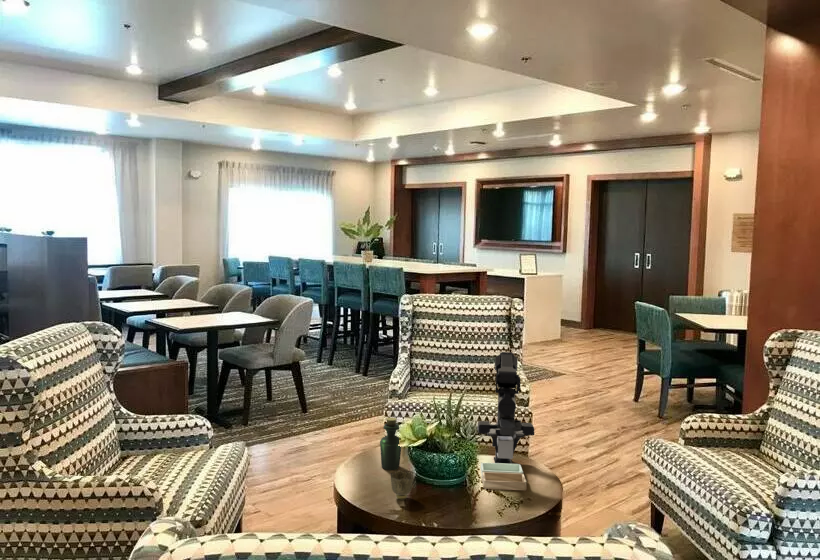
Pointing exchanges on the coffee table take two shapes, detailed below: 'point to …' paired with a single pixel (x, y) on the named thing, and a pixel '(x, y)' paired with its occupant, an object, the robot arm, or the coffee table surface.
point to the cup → (401, 483)
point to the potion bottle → (390, 446)
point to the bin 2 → (503, 481)
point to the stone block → (505, 447)
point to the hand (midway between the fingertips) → (504, 453)
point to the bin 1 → (501, 468)
